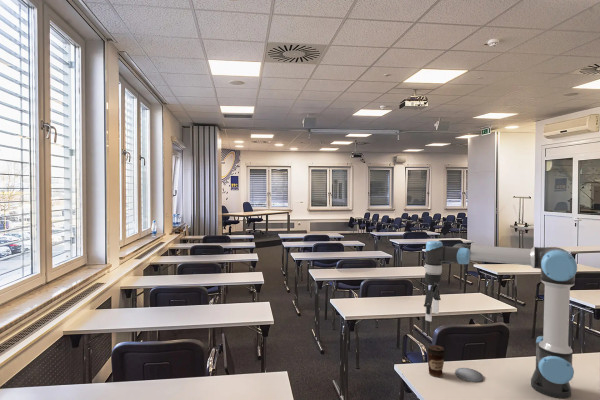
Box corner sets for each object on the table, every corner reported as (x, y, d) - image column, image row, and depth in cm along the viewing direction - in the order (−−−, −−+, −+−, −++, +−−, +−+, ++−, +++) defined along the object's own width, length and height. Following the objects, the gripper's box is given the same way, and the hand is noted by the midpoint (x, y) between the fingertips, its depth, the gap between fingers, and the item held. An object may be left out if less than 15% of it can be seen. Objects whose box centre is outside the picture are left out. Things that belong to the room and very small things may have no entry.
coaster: (483, 373, 178) (483, 371, 178) (482, 384, 168) (482, 382, 168) (457, 367, 184) (457, 365, 184) (453, 377, 174) (453, 375, 174)
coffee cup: (447, 379, 173) (448, 351, 172) (430, 378, 173) (430, 351, 173) (441, 370, 181) (441, 344, 181) (424, 369, 182) (424, 343, 181)
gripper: (431, 268, 190) (430, 308, 190) (418, 276, 169) (416, 322, 169) (447, 269, 185) (445, 311, 186) (435, 279, 165) (433, 325, 165)
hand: (432, 316), depth 178 cm, fingers open, 13 cm apart
